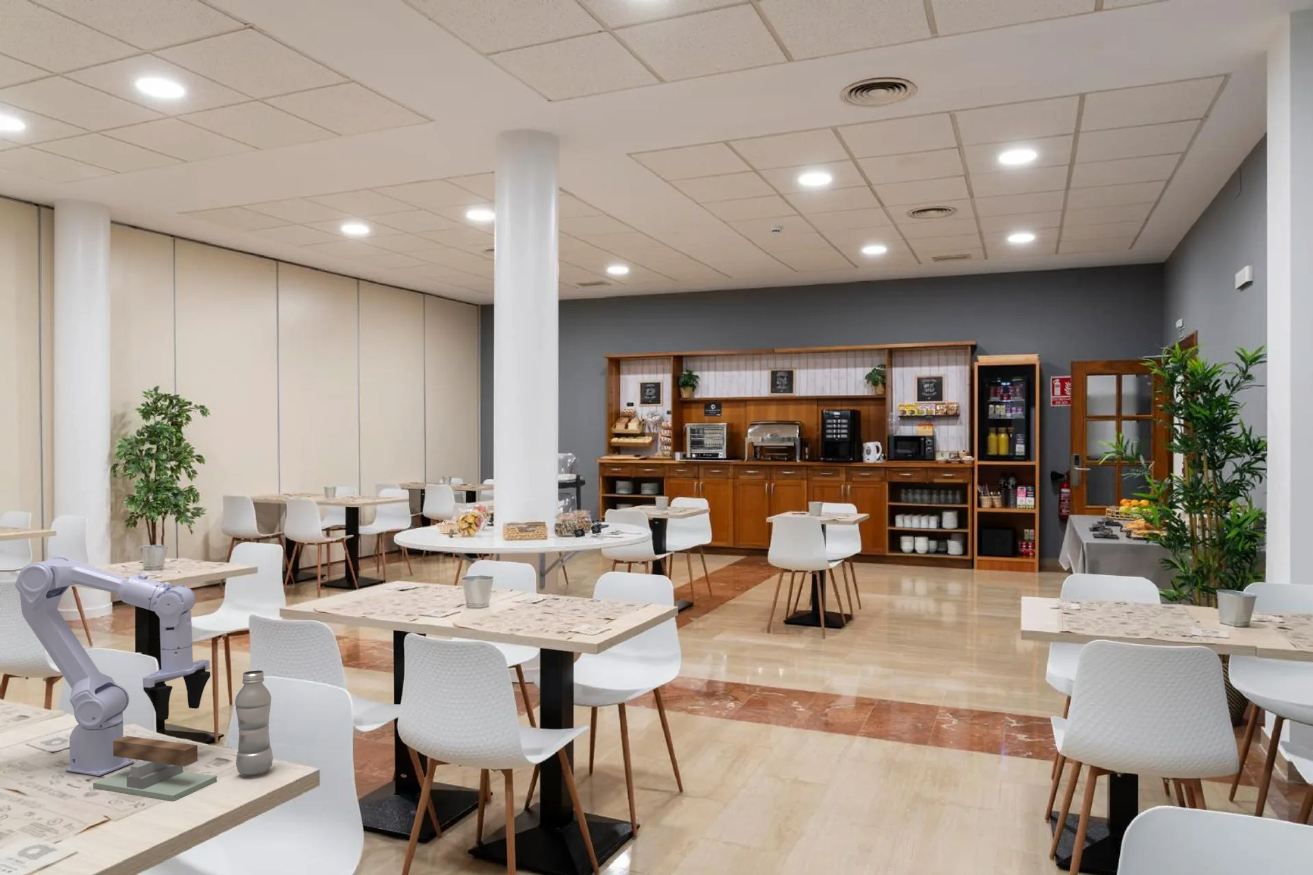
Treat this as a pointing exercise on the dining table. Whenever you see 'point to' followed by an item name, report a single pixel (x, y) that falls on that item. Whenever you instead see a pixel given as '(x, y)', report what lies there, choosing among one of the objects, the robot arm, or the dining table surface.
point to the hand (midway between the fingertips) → (178, 713)
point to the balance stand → (155, 781)
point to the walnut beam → (155, 750)
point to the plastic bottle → (253, 725)
